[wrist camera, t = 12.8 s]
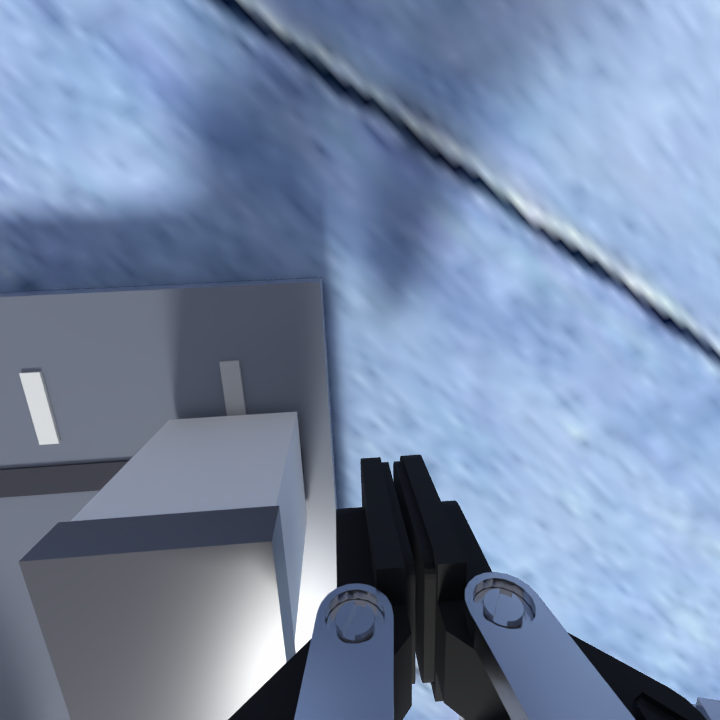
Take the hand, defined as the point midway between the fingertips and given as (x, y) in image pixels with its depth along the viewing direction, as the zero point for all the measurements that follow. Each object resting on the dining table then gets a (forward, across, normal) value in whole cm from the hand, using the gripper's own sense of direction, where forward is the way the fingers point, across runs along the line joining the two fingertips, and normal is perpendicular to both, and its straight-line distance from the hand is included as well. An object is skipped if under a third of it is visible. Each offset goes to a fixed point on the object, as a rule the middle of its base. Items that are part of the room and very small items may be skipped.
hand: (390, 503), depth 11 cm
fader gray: (+2, +5, 0) cm, 5 cm away
